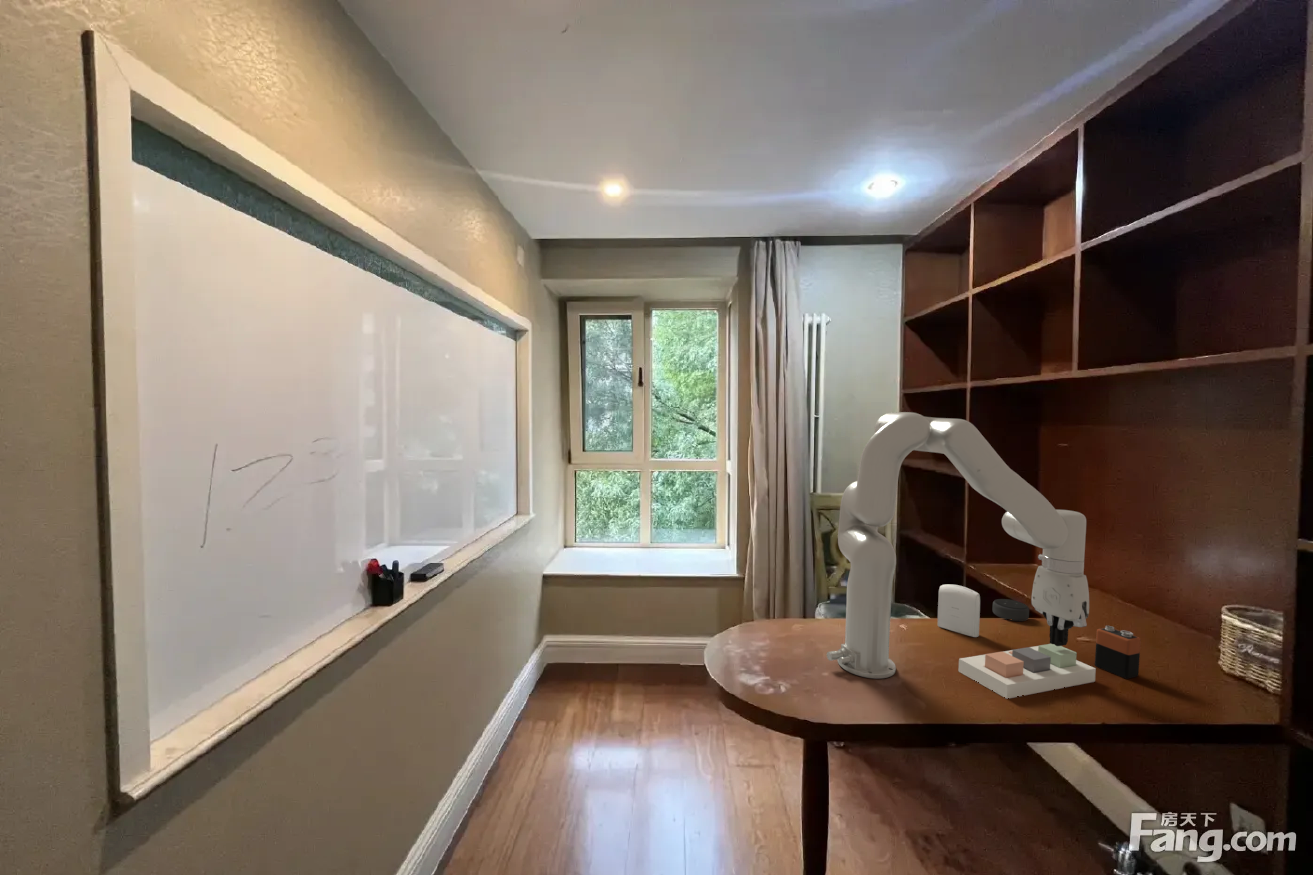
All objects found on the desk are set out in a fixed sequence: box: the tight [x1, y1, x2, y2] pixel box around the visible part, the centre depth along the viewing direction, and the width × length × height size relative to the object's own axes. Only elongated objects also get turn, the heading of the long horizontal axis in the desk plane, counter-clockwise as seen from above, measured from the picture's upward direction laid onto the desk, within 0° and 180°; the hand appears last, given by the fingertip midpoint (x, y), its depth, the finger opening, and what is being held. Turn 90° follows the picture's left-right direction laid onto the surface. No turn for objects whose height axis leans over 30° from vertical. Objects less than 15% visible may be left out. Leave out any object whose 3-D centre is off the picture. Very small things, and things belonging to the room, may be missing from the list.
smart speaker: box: [992, 598, 1030, 622], centre depth 156 cm, size 9×9×4 cm
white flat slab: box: [958, 645, 1097, 699], centre depth 120 cm, size 26×12×3 cm, turn 107°
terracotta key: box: [984, 650, 1024, 678], centre depth 117 cm, size 5×5×3 cm
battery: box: [1094, 625, 1142, 680], centre depth 123 cm, size 4×7×10 cm, turn 20°
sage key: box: [1037, 643, 1078, 668], centre depth 122 cm, size 5×5×3 cm
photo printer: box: [937, 584, 981, 638], centre depth 145 cm, size 10×4×12 cm, turn 39°
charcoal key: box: [1011, 646, 1051, 673], centre depth 119 cm, size 5×5×3 cm
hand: (1058, 644), depth 121 cm, fingers closed
